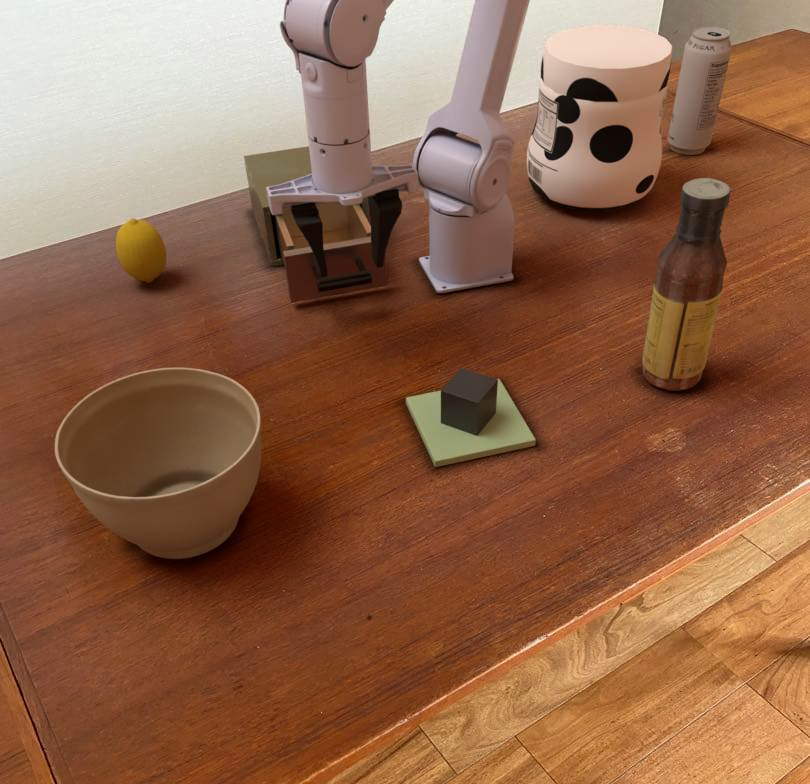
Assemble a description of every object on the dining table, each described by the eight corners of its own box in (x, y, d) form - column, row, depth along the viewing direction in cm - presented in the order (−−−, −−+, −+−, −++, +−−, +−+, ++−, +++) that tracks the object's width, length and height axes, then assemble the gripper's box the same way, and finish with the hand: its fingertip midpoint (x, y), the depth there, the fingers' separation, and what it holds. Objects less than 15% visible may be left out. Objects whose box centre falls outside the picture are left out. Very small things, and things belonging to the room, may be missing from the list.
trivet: (499, 384, 89) (499, 378, 88) (535, 446, 82) (536, 439, 82) (405, 403, 87) (405, 397, 87) (435, 467, 81) (435, 461, 80)
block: (459, 400, 86) (460, 367, 83) (496, 412, 85) (498, 379, 82) (440, 423, 84) (440, 390, 81) (477, 436, 82) (478, 402, 79)
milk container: (673, 180, 118) (703, 35, 105) (623, 235, 109) (649, 83, 95) (558, 154, 125) (572, 14, 112) (501, 203, 115) (509, 56, 102)
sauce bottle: (704, 363, 90) (755, 175, 76) (697, 399, 86) (749, 208, 72) (640, 353, 92) (678, 167, 77) (631, 387, 88) (669, 198, 73)
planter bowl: (196, 620, 69) (164, 527, 61) (56, 544, 75) (10, 451, 67) (314, 498, 78) (300, 403, 70) (180, 439, 84) (153, 345, 76)
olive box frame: (371, 249, 108) (367, 190, 102) (271, 266, 106) (262, 207, 100) (344, 198, 118) (339, 141, 112) (253, 212, 116) (243, 155, 110)
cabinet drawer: (397, 304, 98) (395, 257, 94) (298, 322, 96) (291, 275, 92) (359, 231, 109) (356, 186, 105) (271, 246, 108) (264, 201, 103)
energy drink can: (682, 135, 128) (705, 21, 117) (717, 147, 125) (744, 32, 114) (657, 147, 125) (678, 33, 114) (692, 160, 122) (717, 43, 111)
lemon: (162, 296, 102) (145, 232, 96) (119, 292, 103) (99, 229, 97) (179, 271, 106) (164, 209, 100) (137, 268, 107) (120, 206, 101)
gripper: (268, 162, 75) (288, 299, 85) (427, 138, 78) (428, 274, 88) (255, 130, 80) (275, 264, 90) (405, 109, 82) (409, 241, 92)
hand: (350, 267), depth 89 cm, fingers open, 5 cm apart
